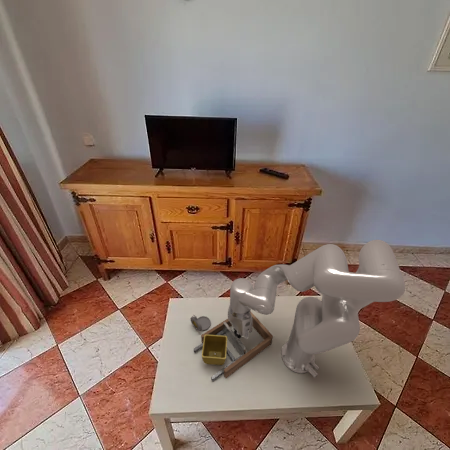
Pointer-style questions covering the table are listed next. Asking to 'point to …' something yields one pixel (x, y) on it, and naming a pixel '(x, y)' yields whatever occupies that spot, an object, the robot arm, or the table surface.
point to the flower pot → (214, 349)
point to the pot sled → (234, 341)
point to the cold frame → (250, 354)
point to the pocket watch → (200, 323)
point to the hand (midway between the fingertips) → (237, 336)
